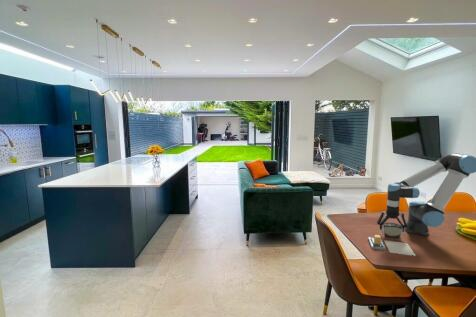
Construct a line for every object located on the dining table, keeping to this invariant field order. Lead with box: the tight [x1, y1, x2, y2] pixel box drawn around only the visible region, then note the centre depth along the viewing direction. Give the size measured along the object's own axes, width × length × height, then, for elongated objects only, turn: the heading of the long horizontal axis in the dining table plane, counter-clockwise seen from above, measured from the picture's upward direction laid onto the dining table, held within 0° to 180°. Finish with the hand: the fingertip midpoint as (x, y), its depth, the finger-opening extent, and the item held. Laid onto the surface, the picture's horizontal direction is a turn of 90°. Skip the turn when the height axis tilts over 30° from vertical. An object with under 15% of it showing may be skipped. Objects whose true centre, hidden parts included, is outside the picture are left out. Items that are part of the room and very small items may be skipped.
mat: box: [383, 240, 417, 257], centre depth 167 cm, size 14×18×1 cm
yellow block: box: [373, 234, 382, 245], centre depth 169 cm, size 3×4×5 cm
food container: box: [383, 222, 403, 241], centre depth 182 cm, size 12×6×10 cm, turn 71°
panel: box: [367, 236, 387, 251], centre depth 172 cm, size 8×15×2 cm, turn 161°
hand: (391, 234), depth 183 cm, fingers closed on food container, 11 cm apart
